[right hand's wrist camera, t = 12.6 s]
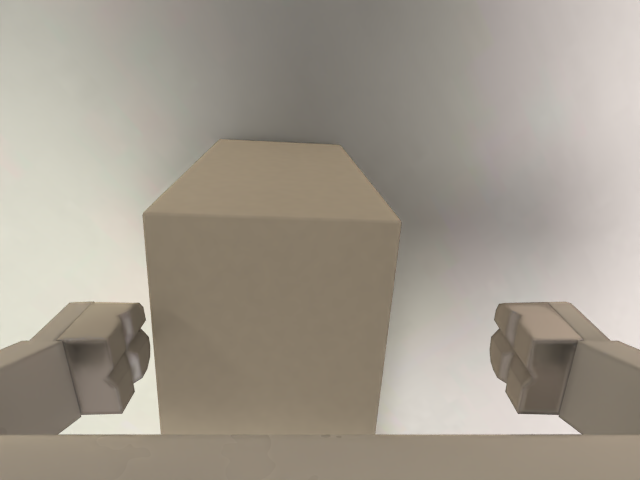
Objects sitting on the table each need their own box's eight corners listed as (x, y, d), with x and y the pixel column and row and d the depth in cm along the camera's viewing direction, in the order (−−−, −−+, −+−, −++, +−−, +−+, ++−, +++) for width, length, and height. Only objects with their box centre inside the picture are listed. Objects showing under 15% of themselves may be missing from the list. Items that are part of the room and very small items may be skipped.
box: (219, 138, 21) (141, 212, 10) (340, 144, 21) (402, 220, 10) (227, 531, 30) (191, 809, 18) (313, 529, 30) (329, 798, 19)
